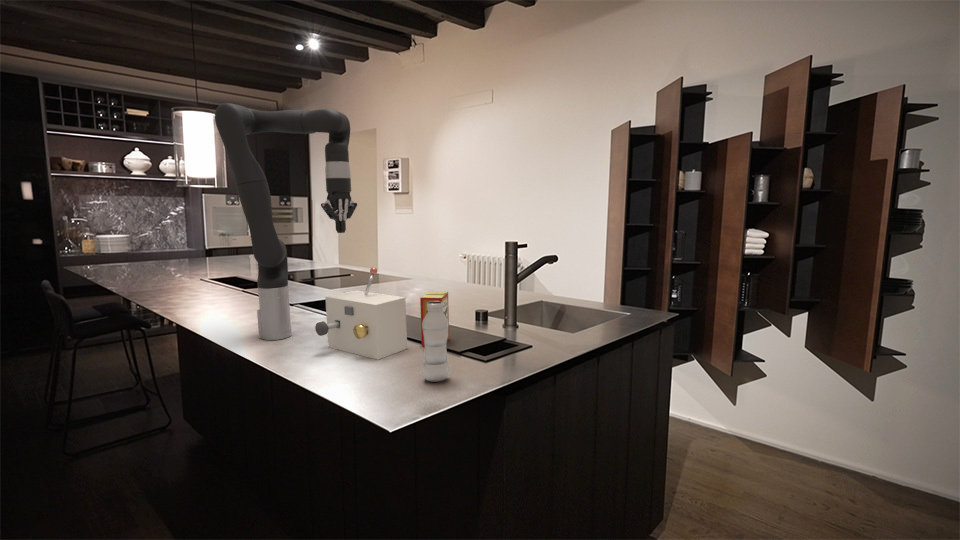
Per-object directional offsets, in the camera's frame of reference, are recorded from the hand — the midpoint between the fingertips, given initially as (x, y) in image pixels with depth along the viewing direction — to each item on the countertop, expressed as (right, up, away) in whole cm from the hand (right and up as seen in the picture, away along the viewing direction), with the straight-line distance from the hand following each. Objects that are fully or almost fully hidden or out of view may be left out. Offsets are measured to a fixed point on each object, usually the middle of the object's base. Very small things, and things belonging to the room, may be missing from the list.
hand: (341, 232), depth 153 cm
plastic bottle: (+33, -40, -31) cm, 60 cm away
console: (+9, -36, -4) cm, 37 cm away
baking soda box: (+30, -35, 0) cm, 46 cm away
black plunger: (-1, -31, -9) cm, 32 cm away
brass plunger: (+11, -31, -12) cm, 35 cm away
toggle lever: (+9, -20, -6) cm, 23 cm away
